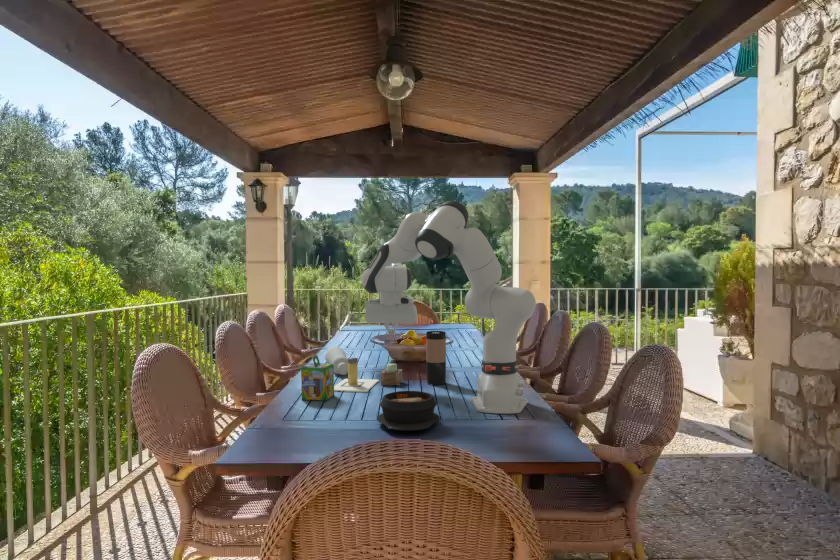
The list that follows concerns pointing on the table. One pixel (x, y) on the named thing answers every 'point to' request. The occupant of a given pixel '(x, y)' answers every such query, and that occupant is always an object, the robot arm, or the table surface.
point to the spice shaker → (352, 371)
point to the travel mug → (436, 357)
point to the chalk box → (317, 381)
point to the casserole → (408, 410)
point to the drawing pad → (362, 385)
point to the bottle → (337, 360)
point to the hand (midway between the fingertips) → (391, 334)
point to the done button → (391, 367)
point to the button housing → (391, 377)
